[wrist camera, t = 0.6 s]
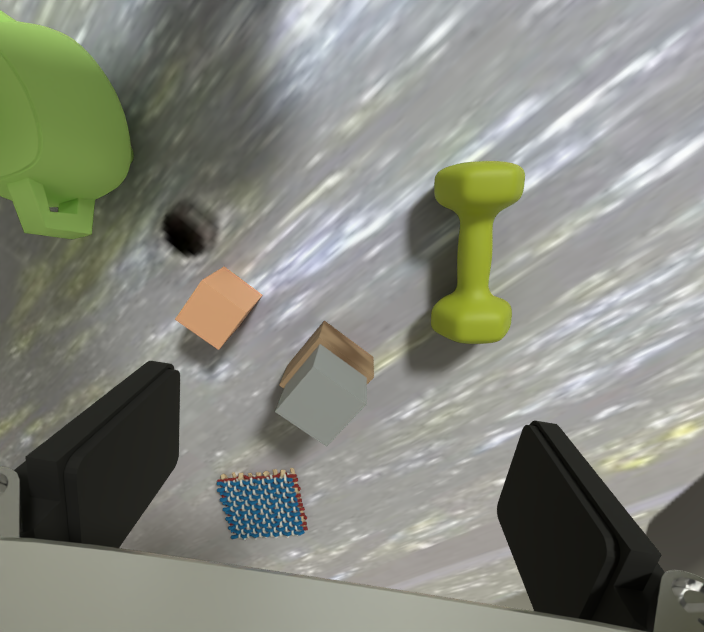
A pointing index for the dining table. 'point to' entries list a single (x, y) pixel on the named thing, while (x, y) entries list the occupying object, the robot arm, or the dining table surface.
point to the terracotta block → (218, 307)
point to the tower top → (323, 396)
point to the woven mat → (263, 504)
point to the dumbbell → (475, 248)
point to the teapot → (57, 130)
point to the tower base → (337, 346)
